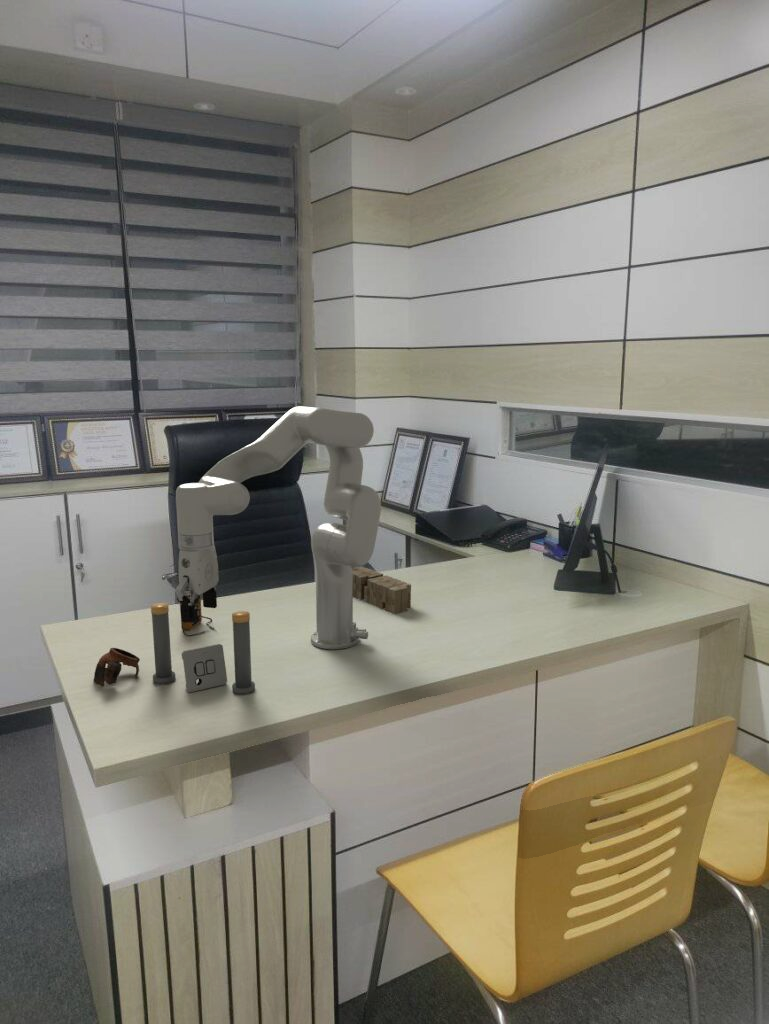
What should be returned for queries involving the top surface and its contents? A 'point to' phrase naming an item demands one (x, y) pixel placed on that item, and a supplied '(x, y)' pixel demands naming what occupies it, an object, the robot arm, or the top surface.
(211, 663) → the electrical switch
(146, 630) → the top surface
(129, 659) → the brown curved hollow piece
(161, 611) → the post far
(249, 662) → the post near
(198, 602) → the multimeter
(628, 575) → the top surface
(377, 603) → the block tower
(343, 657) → the top surface
